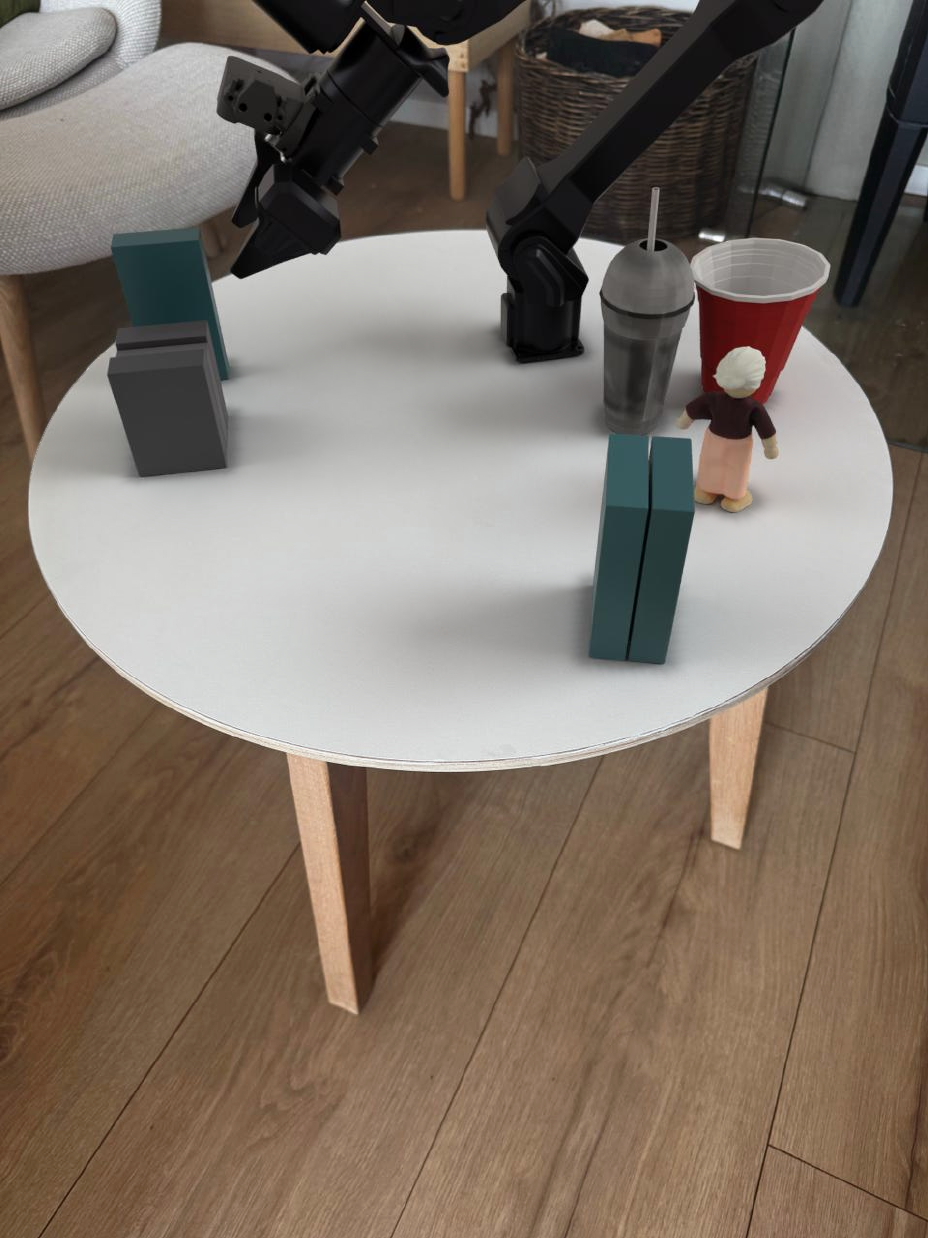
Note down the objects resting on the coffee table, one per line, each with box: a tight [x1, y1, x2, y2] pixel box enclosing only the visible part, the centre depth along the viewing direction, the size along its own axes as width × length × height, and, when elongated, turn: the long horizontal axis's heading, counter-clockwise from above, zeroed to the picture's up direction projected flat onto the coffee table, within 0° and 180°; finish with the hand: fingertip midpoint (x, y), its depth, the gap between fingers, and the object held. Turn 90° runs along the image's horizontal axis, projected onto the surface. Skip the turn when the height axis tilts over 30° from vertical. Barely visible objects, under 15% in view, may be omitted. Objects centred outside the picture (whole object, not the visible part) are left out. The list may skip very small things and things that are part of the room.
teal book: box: [110, 226, 230, 381], centre depth 85 cm, size 7×2×13 cm, turn 99°
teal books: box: [588, 432, 696, 665], centre depth 63 cm, size 7×5×13 cm
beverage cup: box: [598, 187, 696, 436], centre depth 77 cm, size 7×7×20 cm
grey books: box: [106, 320, 229, 478], centre depth 79 cm, size 7×8×10 cm
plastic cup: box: [689, 237, 831, 406], centre depth 82 cm, size 11×11×12 cm
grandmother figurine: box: [676, 346, 780, 513], centre depth 72 cm, size 8×4×13 cm, turn 71°
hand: (235, 248), depth 82 cm, fingers open, 9 cm apart
